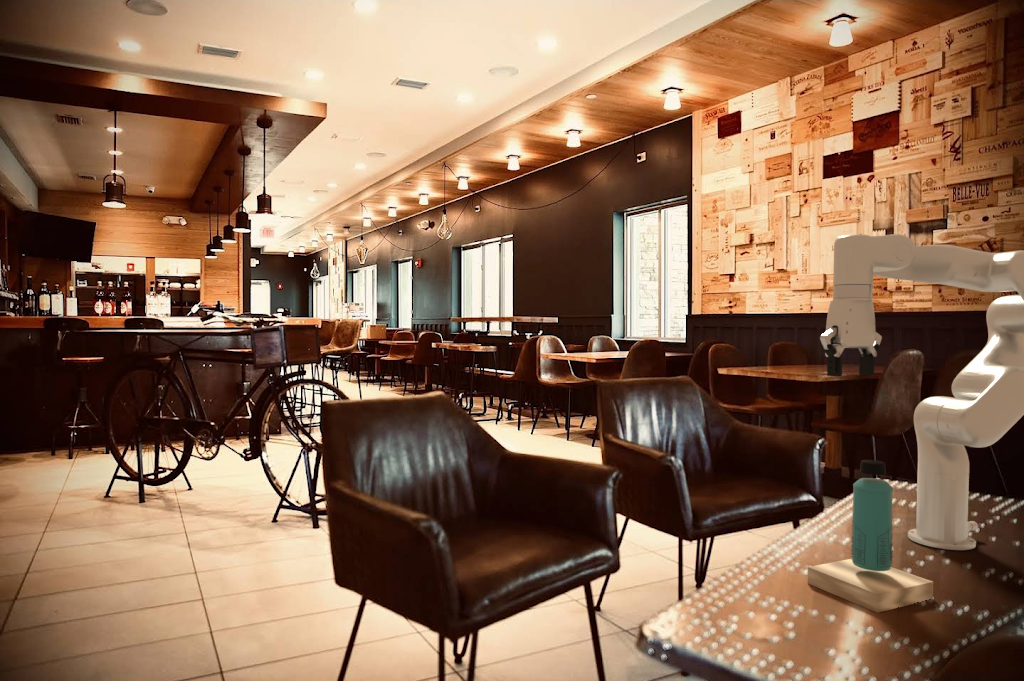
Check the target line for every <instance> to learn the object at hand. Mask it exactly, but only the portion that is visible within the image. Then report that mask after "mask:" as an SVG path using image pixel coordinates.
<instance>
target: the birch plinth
mask: <svg viewBox="0 0 1024 681" xmlns="http://www.w3.org/2000/svg"><path fill="white" fill-rule="evenodd" d="M807 584H808V585H810V586H813V587H815V588H818V589H820V590H823V591H825V592H827V593H830V594H831V595H835V596H837V597H839V598H842V599H844V600H846V601H849V602H851V603H853V604H856V605H858V606H860V607H862V608H865V609H868V610H870V611H873V612H875V613H881V612H886V611H890V610H893V609H897V608H898V607H899V608H902V607H905V606H910V604H911V605H914V603H915V604H918V603H917V602H919V603H922V601H923V602H926V601H925V600H927V601H930V600H929V599H931V600H934V581H933V580H930V579H926V578H923V577H920V576H918V575H916V574H912V573H909V572H906V571H904V570H901V569H898V568H895V567H892V566H891V569H890V570H888V571H872V570H867V569H863V568H860V567H858V566H856V565H854V564H853V561H852V558H847V559H842V560H837V561H831V562H828V563H822V564H816V565H812V566H811V565H810V566H808V567H807Z"/></svg>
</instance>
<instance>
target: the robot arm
mask: <svg viewBox="0 0 1024 681" xmlns="http://www.w3.org/2000/svg"><path fill="white" fill-rule="evenodd" d="M833 245H834V246H833V274H832V275H833V276H832V277H833V279H832V280H833V281H832V300H830V303H829V307H828V309H827V310H828V311H827V317H826V323H825V324H826V325H825V332H824V333H822V334H821V335H820V336H819V340H820V342H821V345H822V350H823V352H825V353H824V355H825V357H826V358H827V362H826V364H827V365H826V373H827V376H828V377H837V378H839V377H842V376H843V357H842V356H841V355H842V354H843V352H844V350H845V349H858V350H859V353H860V354H861V355H859V360H858V361H859V367H858V369H859V370H858V374H859V375H861V376H875V358H876V357H877V356H878V353H877V352H878V351H879V349H880V344H881V342H882V339H883V336H882V335H880V333H878V332H877V331H876V317H875V316H876V315H875V314H876V313H875V306H874V301H873V300H874V296H873V291H874V289H873V288H874V276H875V277H878V278H879V277H880V278H885V279H893V280H903V281H912V282H919V283H924V284H925V283H926V284H937V285H943V286H949V287H950V286H951V287H955V288H960V289H965V290H966V289H967V290H970V291H971V290H972V291H975V292H976V291H977V292H984V293H1001V292H1003V293H1004V292H1017V293H1018V294H1011V295H1005V296H1000V297H998V298H996V299H995V300H992V302H991V303H990V304H989V306H988V307H987V310H986V318H985V319H986V326H987V333H988V338H987V342H986V344H985V346H984V347H983V348H982V350H981V351H980V352H979V353H978V354H977V355H976V356H975V357H973V359H972V360H971V361H970V362H969V363H968V364H966V366H965V367H964V368H962V370H961V371H960V372H959V373H958V374H957V375H956V377H955V378H954V379H953V381H952V383H951V394H952V395H953V397H951V396H944V395H941V396H940V395H939V396H937V395H935V396H929V397H927V398H924V399H923V400H922V401H920V402H919V403H918V404H917V406H916V407H915V409H914V413H913V426H914V431H915V435H916V436H915V437H916V442H917V443H916V444H917V478H916V479H917V482H916V484H917V485H916V516H915V517H916V520H915V521H916V523H915V528H912V529H909V530H908V531H907V537H908V539H909V540H910V541H912V542H915V543H917V544H919V545H924V546H927V547H931V548H935V549H941V550H949V551H969V550H973V549H975V548H976V546H977V541H976V540H975V539H974V538H973V537H971V536H969V532H970V531H976V530H978V528H979V524H978V523H977V522H976V521H975V520H970V521H969V519H968V518H969V491H970V490H969V486H970V485H969V484H970V483H969V481H970V480H969V479H970V460H969V455H968V452H967V449H966V447H969V448H976V449H977V448H987V447H989V446H992V445H994V444H995V443H996V442H998V441H1000V439H1002V438H1003V436H1004V435H1005V434H1007V433H1008V431H1009V430H1010V429H1011V428H1012V427H1013V426H1015V424H1017V422H1018V421H1019V420H1021V418H1022V417H1023V416H1024V250H1023V249H1022V250H1021V249H1019V250H1013V251H1005V252H989V251H988V252H987V251H983V250H978V249H973V248H969V247H968V248H967V247H963V246H959V245H958V246H957V245H953V244H929V245H928V244H927V245H917V244H916V243H915V242H914V240H912V239H911V238H910V237H908V236H907V235H904V234H897V233H894V234H885V235H872V236H871V235H868V234H845V235H841V236H838V237H837V238H835V240H834V243H833Z"/></svg>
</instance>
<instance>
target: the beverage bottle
mask: <svg viewBox="0 0 1024 681" xmlns="http://www.w3.org/2000/svg"><path fill="white" fill-rule="evenodd" d="M859 472H860V473H862V474H865V475H870V476H871V475H872V476H885V475H887V470H886V463H885V462H884V461H881V460H874V459H863V460H861V461H860V466H859ZM852 486H853V487H852V488H853V491H852V492H853V493H852V494H853V495H852V496H853V497H852V498H853V499H852V501H853V502H852V503H853V504H852V519H851V523H852V524H851V538H850V539H851V541H850V542H851V543H850V545H851V546H850V548H851V549H850V551H851V552H850V553H851V559H852V561H853V564H854V565H856V566H858V567H860V568H863V569H867V570H872V571H888V570H890V569H891V567H892V566H893V558H894V555H893V554H894V551H893V543H894V542H893V535H894V532H893V492H894V489H893V487H892V486H891V484H890V483H888V481H886V480H883V479H880V478H873V477H861V478H859V479H858V480H856V481H855V482H854V483H853V484H852Z"/></svg>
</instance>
